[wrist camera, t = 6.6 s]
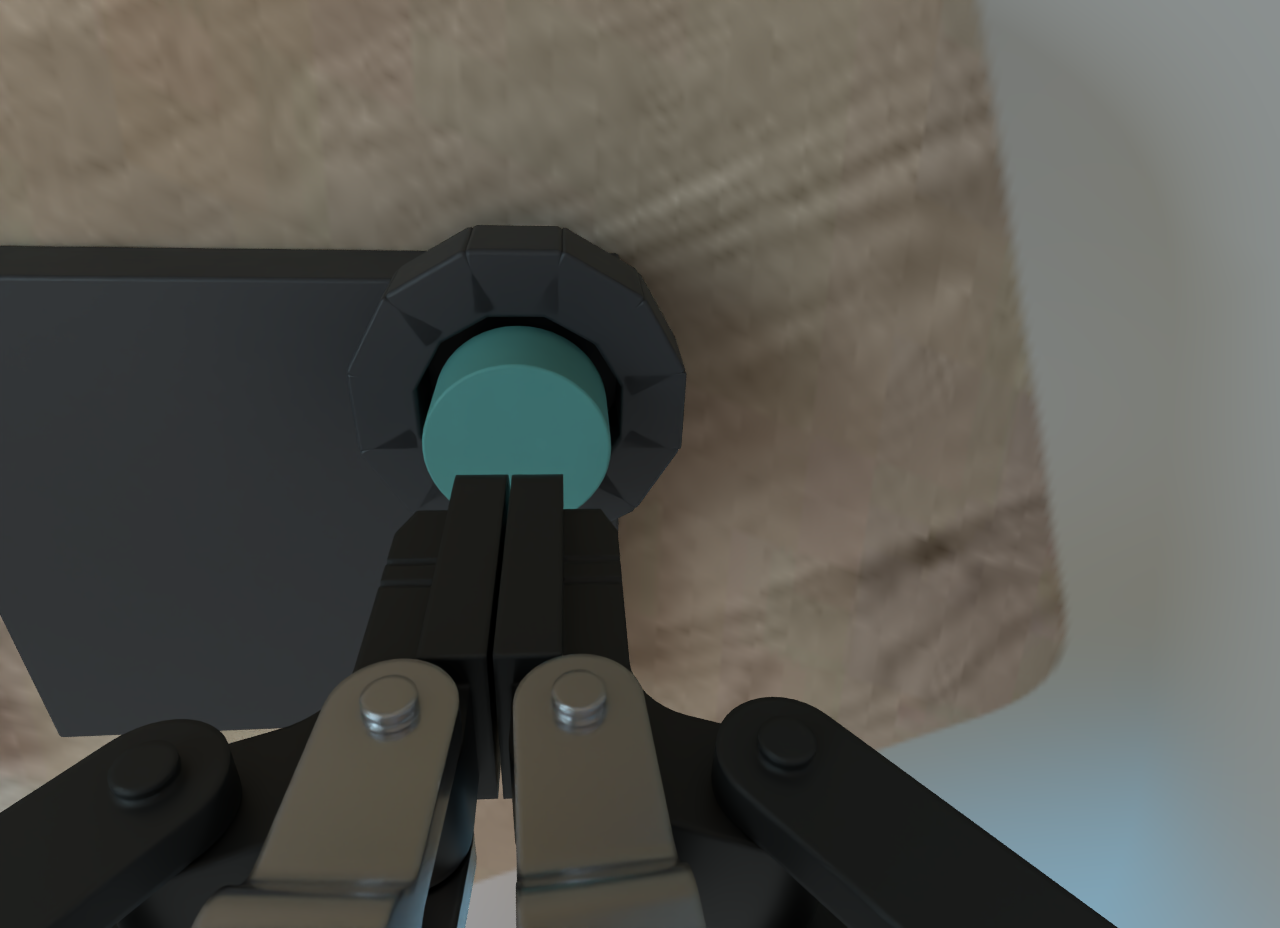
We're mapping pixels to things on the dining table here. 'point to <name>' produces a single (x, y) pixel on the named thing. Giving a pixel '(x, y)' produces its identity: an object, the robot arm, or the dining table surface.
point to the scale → (262, 451)
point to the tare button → (519, 412)
